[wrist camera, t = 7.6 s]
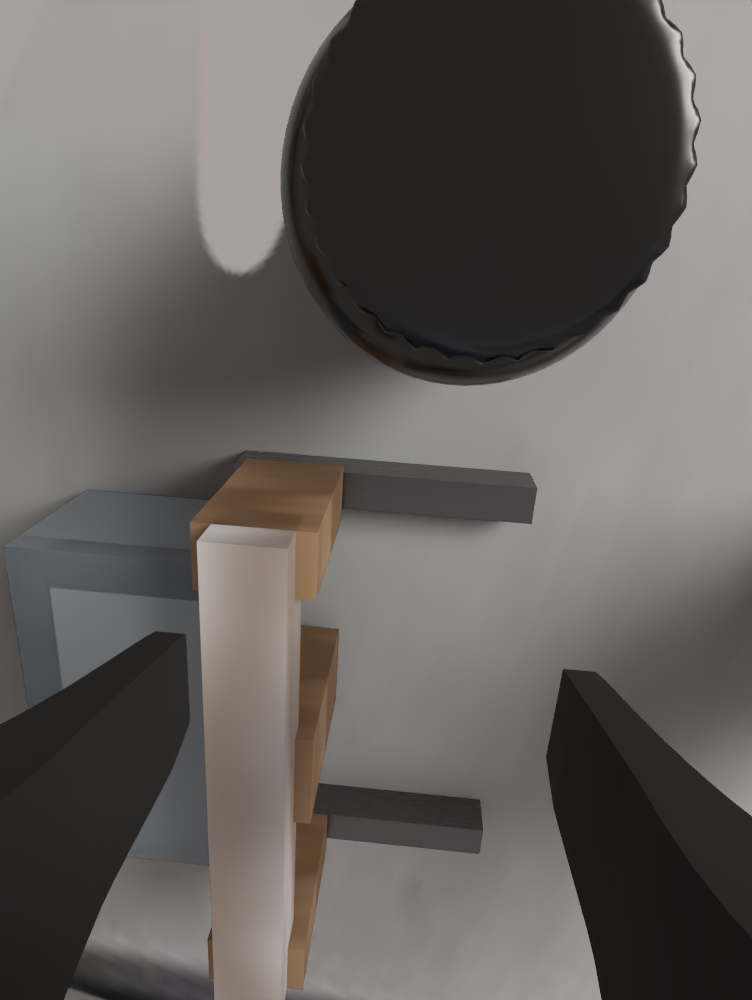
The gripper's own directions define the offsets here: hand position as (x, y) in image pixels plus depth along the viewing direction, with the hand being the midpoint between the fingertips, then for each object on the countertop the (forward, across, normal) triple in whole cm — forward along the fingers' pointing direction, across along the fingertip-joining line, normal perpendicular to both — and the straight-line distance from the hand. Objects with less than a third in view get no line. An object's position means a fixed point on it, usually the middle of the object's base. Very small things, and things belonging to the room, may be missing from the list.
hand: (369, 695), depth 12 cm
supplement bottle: (+11, -1, -9) cm, 14 cm away
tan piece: (+10, +3, +6) cm, 12 cm away
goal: (+10, +7, +6) cm, 14 cm away
